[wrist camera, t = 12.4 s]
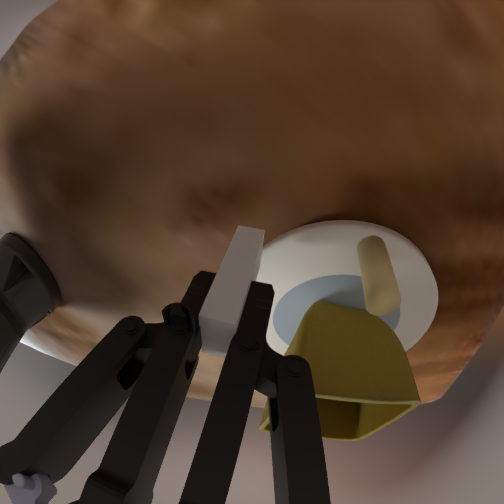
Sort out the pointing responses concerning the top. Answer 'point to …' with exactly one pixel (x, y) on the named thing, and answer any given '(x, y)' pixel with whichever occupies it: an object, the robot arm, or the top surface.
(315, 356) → the flower pot
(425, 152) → the top surface
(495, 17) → the top surface
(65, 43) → the top surface
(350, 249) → the disc
